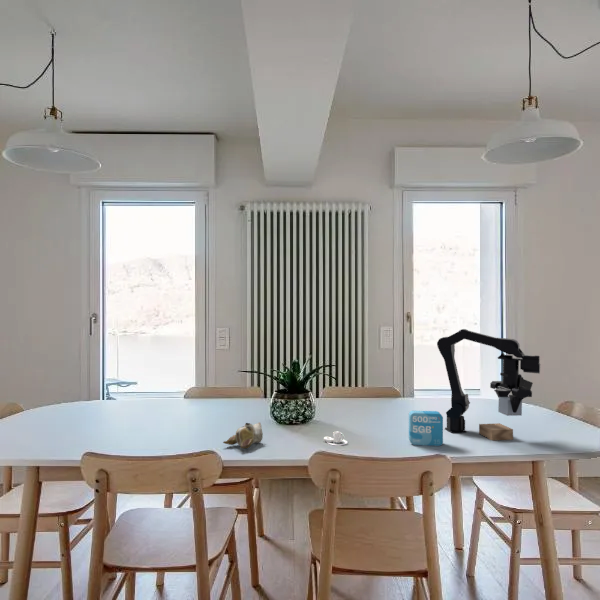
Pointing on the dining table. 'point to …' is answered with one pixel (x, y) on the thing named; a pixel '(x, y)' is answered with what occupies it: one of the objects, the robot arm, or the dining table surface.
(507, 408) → the slate cube
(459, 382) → the robot arm
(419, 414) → the data package
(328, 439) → the teacup and saucer
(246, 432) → the ceramic sculpture
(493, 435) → the walnut block
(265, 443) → the dining table surface
